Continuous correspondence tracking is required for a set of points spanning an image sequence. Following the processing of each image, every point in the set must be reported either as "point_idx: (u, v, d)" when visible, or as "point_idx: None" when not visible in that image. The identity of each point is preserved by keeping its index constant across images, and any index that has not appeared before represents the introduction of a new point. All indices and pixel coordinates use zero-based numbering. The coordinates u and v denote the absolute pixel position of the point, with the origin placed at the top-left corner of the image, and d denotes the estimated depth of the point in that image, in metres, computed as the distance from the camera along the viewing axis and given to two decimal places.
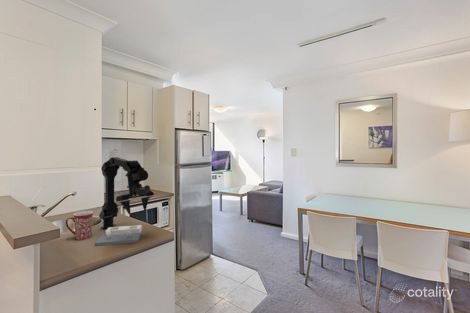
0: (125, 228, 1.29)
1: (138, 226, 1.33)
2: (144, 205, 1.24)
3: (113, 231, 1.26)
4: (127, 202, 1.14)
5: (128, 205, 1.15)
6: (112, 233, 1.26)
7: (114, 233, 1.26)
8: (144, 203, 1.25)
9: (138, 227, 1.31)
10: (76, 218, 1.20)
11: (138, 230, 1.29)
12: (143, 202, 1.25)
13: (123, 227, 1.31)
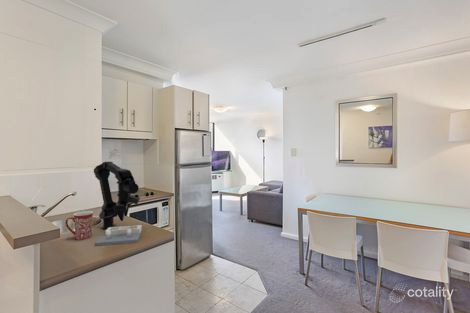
0: (125, 228, 1.29)
1: (138, 226, 1.33)
2: (126, 211, 1.35)
3: (113, 231, 1.26)
4: (125, 210, 1.25)
5: (124, 213, 1.25)
6: (112, 233, 1.26)
7: (114, 233, 1.26)
8: (126, 209, 1.35)
9: (138, 227, 1.31)
10: (76, 218, 1.20)
11: (138, 230, 1.29)
12: None
13: (123, 227, 1.31)
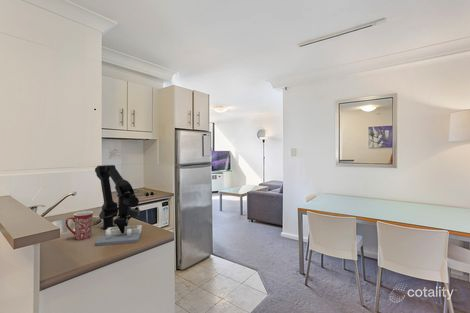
0: (125, 228, 1.29)
1: (138, 226, 1.33)
2: (125, 225, 1.34)
3: (113, 231, 1.26)
4: (126, 223, 1.26)
5: (124, 226, 1.26)
6: (112, 233, 1.26)
7: (114, 233, 1.26)
8: (125, 223, 1.34)
9: (138, 227, 1.31)
10: (76, 218, 1.20)
11: (138, 230, 1.29)
12: None
13: None
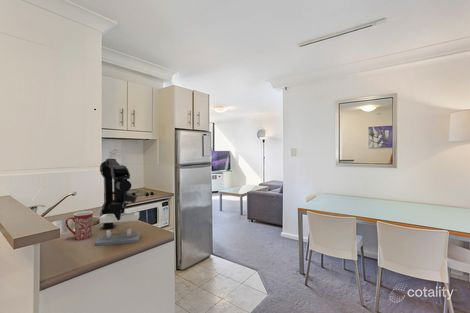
0: (121, 215, 1.20)
1: (135, 213, 1.24)
2: (121, 212, 1.24)
3: (108, 218, 1.17)
4: (122, 209, 1.16)
5: (120, 212, 1.17)
6: (107, 220, 1.16)
7: (109, 220, 1.17)
8: (122, 209, 1.24)
9: (135, 214, 1.22)
10: (76, 218, 1.20)
11: (135, 216, 1.20)
12: None
13: None
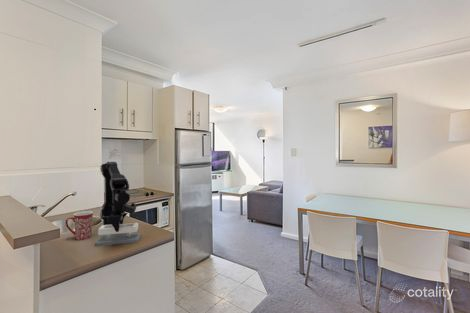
0: (120, 226, 1.19)
1: (134, 224, 1.22)
2: (120, 222, 1.23)
3: (107, 229, 1.15)
4: (120, 221, 1.15)
5: (119, 223, 1.16)
6: (106, 231, 1.15)
7: (108, 231, 1.16)
8: (121, 220, 1.23)
9: (134, 225, 1.21)
10: (76, 218, 1.20)
11: (134, 228, 1.19)
12: None
13: None
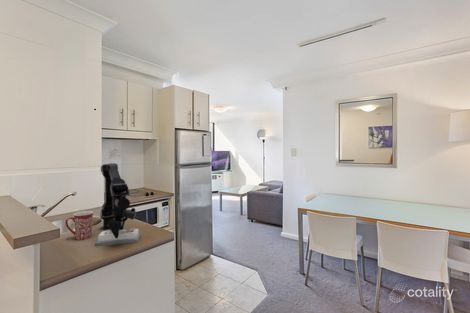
0: (120, 232, 1.19)
1: (134, 230, 1.22)
2: (121, 227, 1.24)
3: (107, 235, 1.15)
4: (120, 227, 1.14)
5: None
6: (106, 238, 1.15)
7: (108, 238, 1.16)
8: (121, 225, 1.24)
9: (134, 231, 1.21)
10: (76, 218, 1.20)
11: (134, 234, 1.19)
12: None
13: None
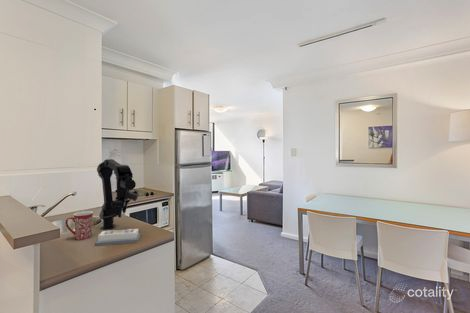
0: (120, 232, 1.19)
1: (134, 230, 1.22)
2: (124, 208, 1.31)
3: (107, 235, 1.15)
4: (123, 207, 1.21)
5: (122, 209, 1.22)
6: (106, 238, 1.15)
7: (108, 238, 1.16)
8: (124, 206, 1.31)
9: (134, 231, 1.21)
10: (76, 218, 1.20)
11: (134, 234, 1.19)
12: None
13: (118, 231, 1.21)
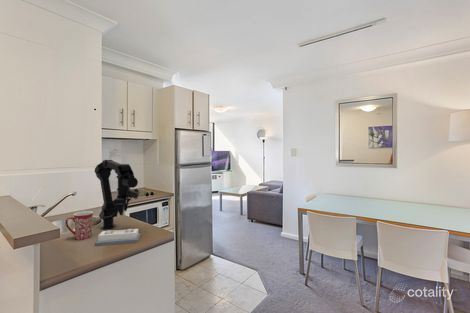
0: (120, 232, 1.19)
1: (134, 230, 1.22)
2: (125, 206, 1.34)
3: (107, 235, 1.15)
4: (125, 205, 1.23)
5: (123, 207, 1.24)
6: (106, 238, 1.15)
7: (108, 238, 1.16)
8: (125, 204, 1.34)
9: (134, 231, 1.21)
10: (76, 218, 1.20)
11: (134, 234, 1.19)
12: None
13: (118, 231, 1.21)
